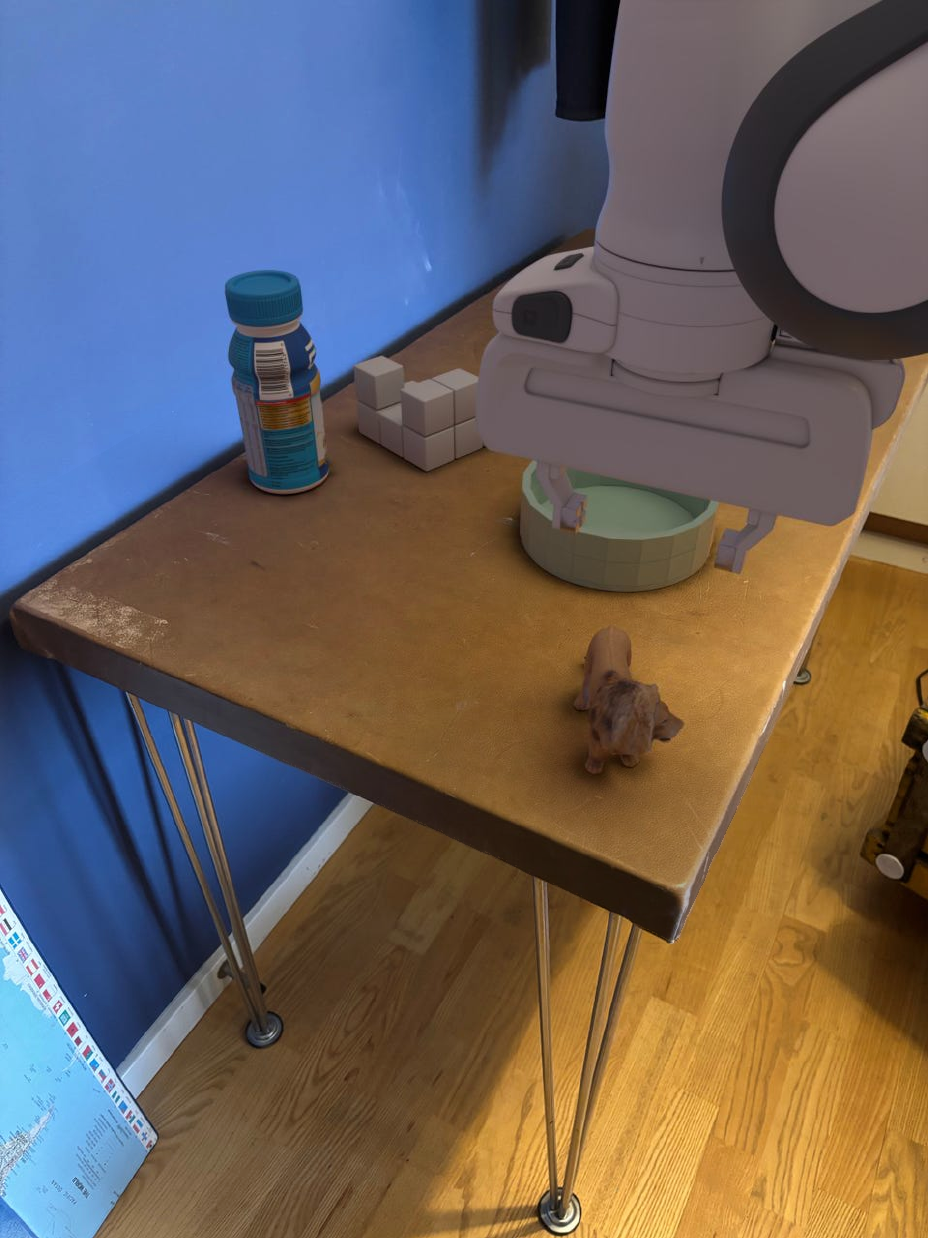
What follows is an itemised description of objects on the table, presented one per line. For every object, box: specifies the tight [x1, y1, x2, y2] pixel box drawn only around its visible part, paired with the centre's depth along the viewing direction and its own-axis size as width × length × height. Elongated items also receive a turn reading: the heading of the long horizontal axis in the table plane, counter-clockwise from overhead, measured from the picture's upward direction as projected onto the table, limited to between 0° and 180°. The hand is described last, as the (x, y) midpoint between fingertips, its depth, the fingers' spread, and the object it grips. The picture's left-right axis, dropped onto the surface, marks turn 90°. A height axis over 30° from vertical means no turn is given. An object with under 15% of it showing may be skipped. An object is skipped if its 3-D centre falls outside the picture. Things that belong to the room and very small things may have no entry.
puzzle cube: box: [353, 355, 486, 472], centre depth 99 cm, size 12×12×8 cm
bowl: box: [519, 460, 721, 593], centre depth 83 cm, size 18×18×6 cm
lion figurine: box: [573, 624, 685, 775], centre depth 63 cm, size 15×5×9 cm, turn 8°
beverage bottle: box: [224, 269, 330, 495], centre depth 88 cm, size 8×8×20 cm
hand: (646, 545), depth 52 cm, fingers open, 8 cm apart
